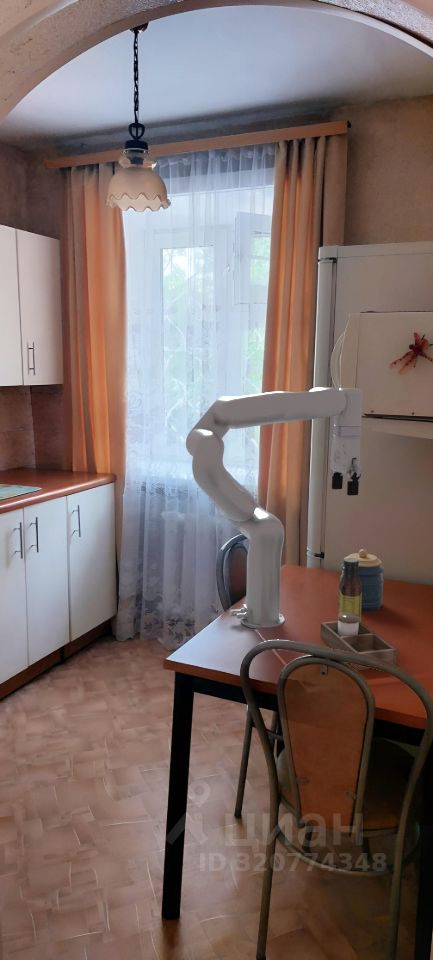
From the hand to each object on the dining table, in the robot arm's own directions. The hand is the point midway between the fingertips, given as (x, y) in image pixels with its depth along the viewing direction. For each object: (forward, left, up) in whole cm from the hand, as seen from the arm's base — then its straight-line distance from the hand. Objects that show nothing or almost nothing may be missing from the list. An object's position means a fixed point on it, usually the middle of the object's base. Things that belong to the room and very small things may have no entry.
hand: (344, 492), depth 189 cm
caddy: (-8, -26, -37) cm, 46 cm away
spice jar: (-8, -21, -36) cm, 42 cm away
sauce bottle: (-2, -10, -37) cm, 38 cm away
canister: (+10, +6, -37) cm, 39 cm away
